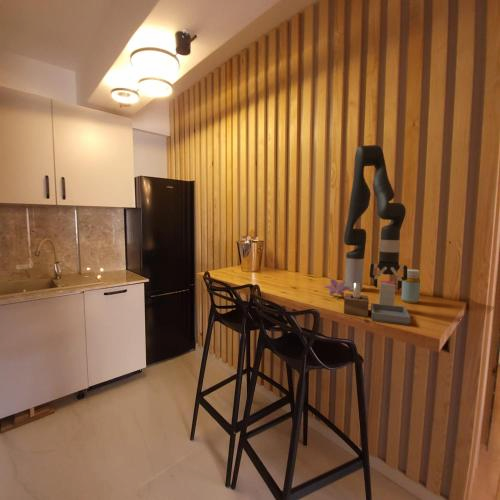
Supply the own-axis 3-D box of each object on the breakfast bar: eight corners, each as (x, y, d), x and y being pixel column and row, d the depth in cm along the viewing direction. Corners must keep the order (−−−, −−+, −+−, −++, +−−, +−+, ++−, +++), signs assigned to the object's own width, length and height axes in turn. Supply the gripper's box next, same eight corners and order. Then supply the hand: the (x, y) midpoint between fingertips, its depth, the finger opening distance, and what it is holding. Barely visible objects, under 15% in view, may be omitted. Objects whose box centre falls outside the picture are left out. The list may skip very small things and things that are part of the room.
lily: (355, 301, 131) (353, 282, 135) (344, 296, 124) (342, 276, 128) (332, 304, 139) (331, 286, 143) (320, 299, 132) (319, 280, 135)
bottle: (397, 300, 130) (399, 269, 128) (408, 299, 132) (410, 268, 131) (411, 304, 123) (413, 271, 122) (422, 303, 126) (424, 270, 124)
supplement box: (393, 311, 114) (395, 284, 113) (378, 308, 117) (379, 282, 116) (394, 307, 119) (395, 281, 118) (379, 305, 122) (380, 280, 121)
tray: (370, 309, 116) (370, 302, 115) (404, 313, 111) (404, 306, 111) (371, 320, 103) (372, 312, 103) (409, 325, 99) (410, 317, 98)
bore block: (345, 307, 119) (345, 293, 119) (367, 309, 116) (368, 295, 115) (343, 313, 111) (344, 298, 110) (367, 316, 108) (368, 301, 107)
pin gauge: (352, 310, 115) (353, 282, 114) (359, 310, 114) (361, 282, 113) (352, 312, 113) (353, 283, 111) (359, 313, 112) (361, 284, 110)
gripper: (371, 250, 115) (369, 288, 116) (410, 252, 109) (407, 292, 111) (370, 249, 122) (368, 285, 123) (407, 250, 116) (404, 288, 118)
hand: (387, 288), depth 117 cm, fingers open, 8 cm apart
